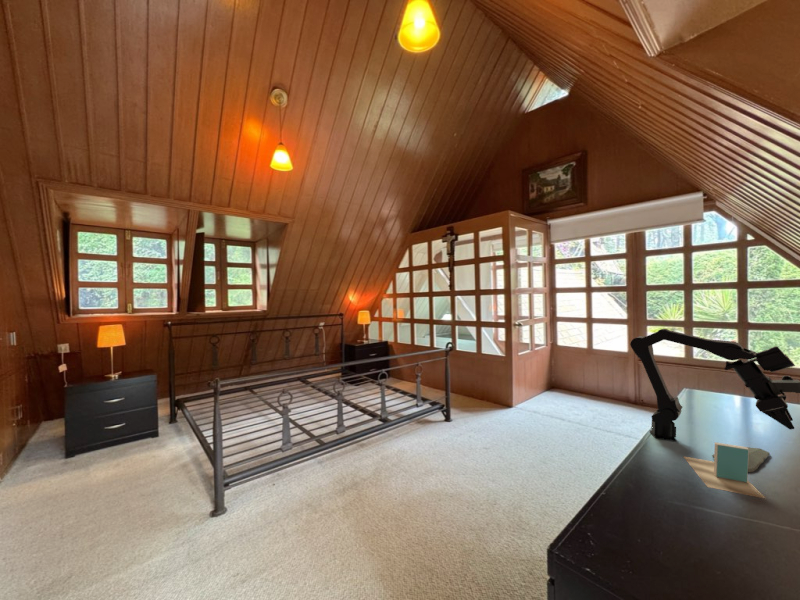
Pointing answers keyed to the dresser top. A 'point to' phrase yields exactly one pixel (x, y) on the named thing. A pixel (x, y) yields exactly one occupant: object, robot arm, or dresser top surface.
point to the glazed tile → (731, 462)
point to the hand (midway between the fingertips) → (791, 424)
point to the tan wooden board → (720, 479)
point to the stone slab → (755, 458)
